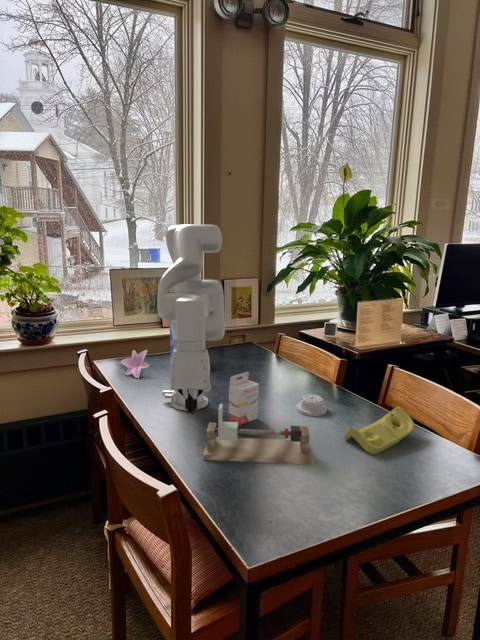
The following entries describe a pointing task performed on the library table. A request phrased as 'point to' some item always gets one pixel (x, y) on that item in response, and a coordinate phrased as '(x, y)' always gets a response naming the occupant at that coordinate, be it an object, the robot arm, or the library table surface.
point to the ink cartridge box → (243, 399)
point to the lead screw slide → (260, 446)
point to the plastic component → (383, 431)
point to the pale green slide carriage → (226, 427)
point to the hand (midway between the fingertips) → (191, 411)
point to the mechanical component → (311, 405)
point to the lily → (135, 363)
